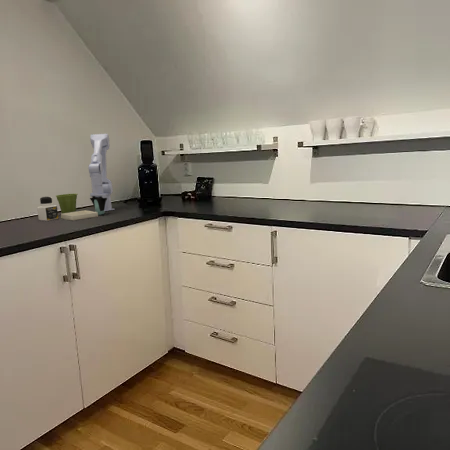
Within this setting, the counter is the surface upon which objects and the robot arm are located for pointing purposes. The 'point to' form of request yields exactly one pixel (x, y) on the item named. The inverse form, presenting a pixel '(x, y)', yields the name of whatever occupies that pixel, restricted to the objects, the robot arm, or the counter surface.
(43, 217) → the medicine bottle
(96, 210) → the pale teal cylinder
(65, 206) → the plant pot
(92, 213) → the cream tray
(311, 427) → the counter surface
